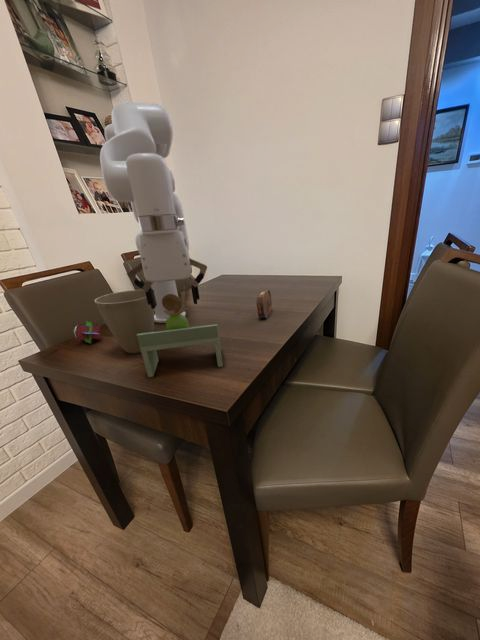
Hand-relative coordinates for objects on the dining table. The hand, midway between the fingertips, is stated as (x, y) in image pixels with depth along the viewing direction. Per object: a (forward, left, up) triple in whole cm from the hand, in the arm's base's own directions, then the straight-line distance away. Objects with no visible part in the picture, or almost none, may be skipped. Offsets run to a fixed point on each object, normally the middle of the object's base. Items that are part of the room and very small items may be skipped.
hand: (175, 304), depth 66 cm
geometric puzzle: (-26, -32, -16) cm, 44 cm away
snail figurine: (0, 0, -8) cm, 8 cm away
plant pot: (-15, -15, -16) cm, 26 cm away
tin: (-32, +27, -16) cm, 45 cm away
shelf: (0, 0, -16) cm, 16 cm away
